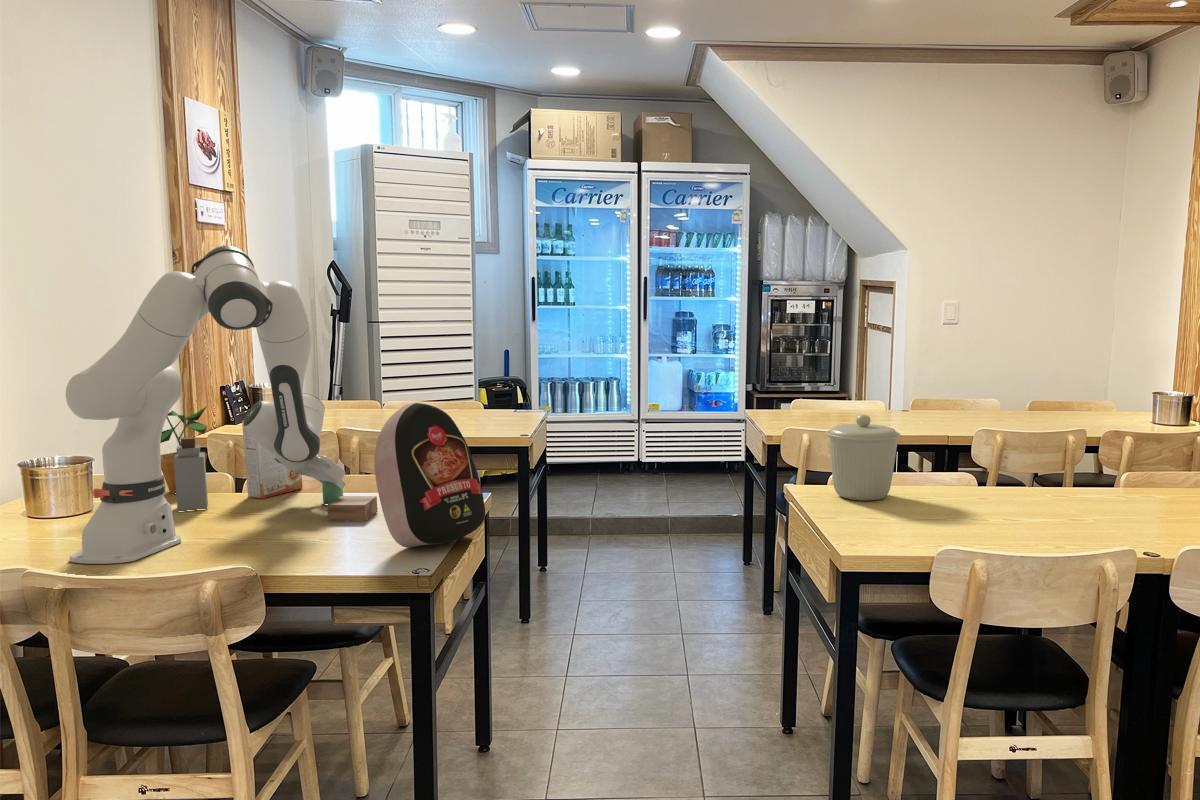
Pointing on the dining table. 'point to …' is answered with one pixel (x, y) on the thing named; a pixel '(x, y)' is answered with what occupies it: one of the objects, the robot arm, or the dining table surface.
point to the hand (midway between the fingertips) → (334, 484)
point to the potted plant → (168, 459)
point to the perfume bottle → (190, 476)
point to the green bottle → (330, 492)
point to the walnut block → (352, 508)
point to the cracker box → (266, 471)
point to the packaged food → (426, 478)
